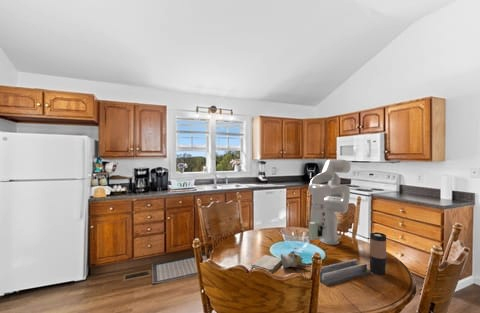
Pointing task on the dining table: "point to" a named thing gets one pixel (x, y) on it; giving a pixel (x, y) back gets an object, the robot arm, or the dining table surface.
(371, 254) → the travel mug
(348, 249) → the dining table surface
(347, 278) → the rail
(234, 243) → the dining table surface
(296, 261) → the ceramic sculpture
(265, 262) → the washcloth
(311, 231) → the door panel
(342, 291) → the dining table surface
